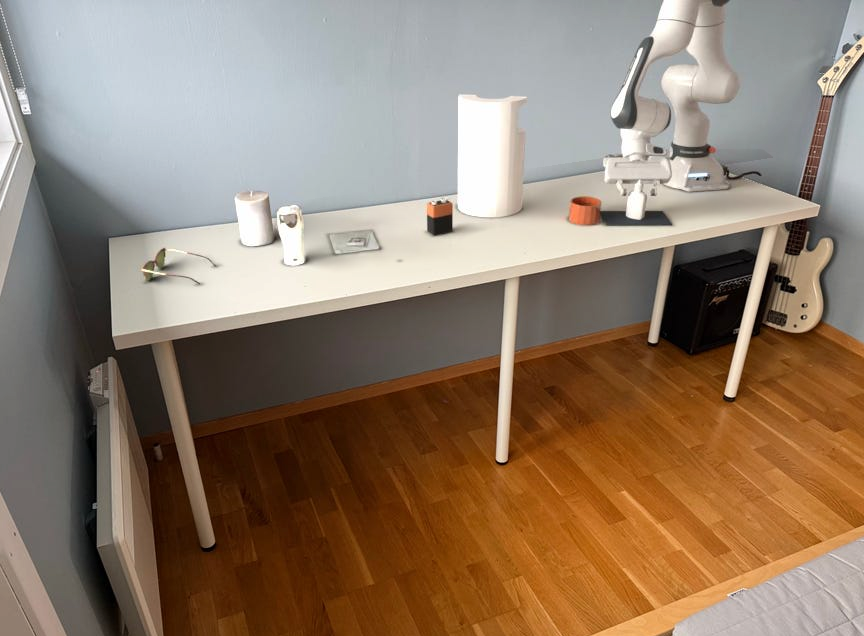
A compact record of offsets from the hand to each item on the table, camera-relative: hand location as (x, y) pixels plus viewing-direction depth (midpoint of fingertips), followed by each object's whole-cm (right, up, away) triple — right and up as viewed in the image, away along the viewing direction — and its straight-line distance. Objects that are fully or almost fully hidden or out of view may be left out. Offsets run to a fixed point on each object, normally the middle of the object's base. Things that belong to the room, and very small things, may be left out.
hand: (638, 195), depth 221 cm
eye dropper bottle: (0, -6, +5) cm, 8 cm away
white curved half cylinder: (-46, -3, +12) cm, 47 cm away
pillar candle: (-115, -15, -7) cm, 117 cm away
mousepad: (-84, -18, -12) cm, 86 cm away
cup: (-16, -7, +4) cm, 18 cm away
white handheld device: (-102, -23, -20) cm, 106 cm away
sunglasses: (-131, -28, -27) cm, 137 cm away
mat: (0, -6, +5) cm, 8 cm away
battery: (-61, -12, -3) cm, 62 cm away
